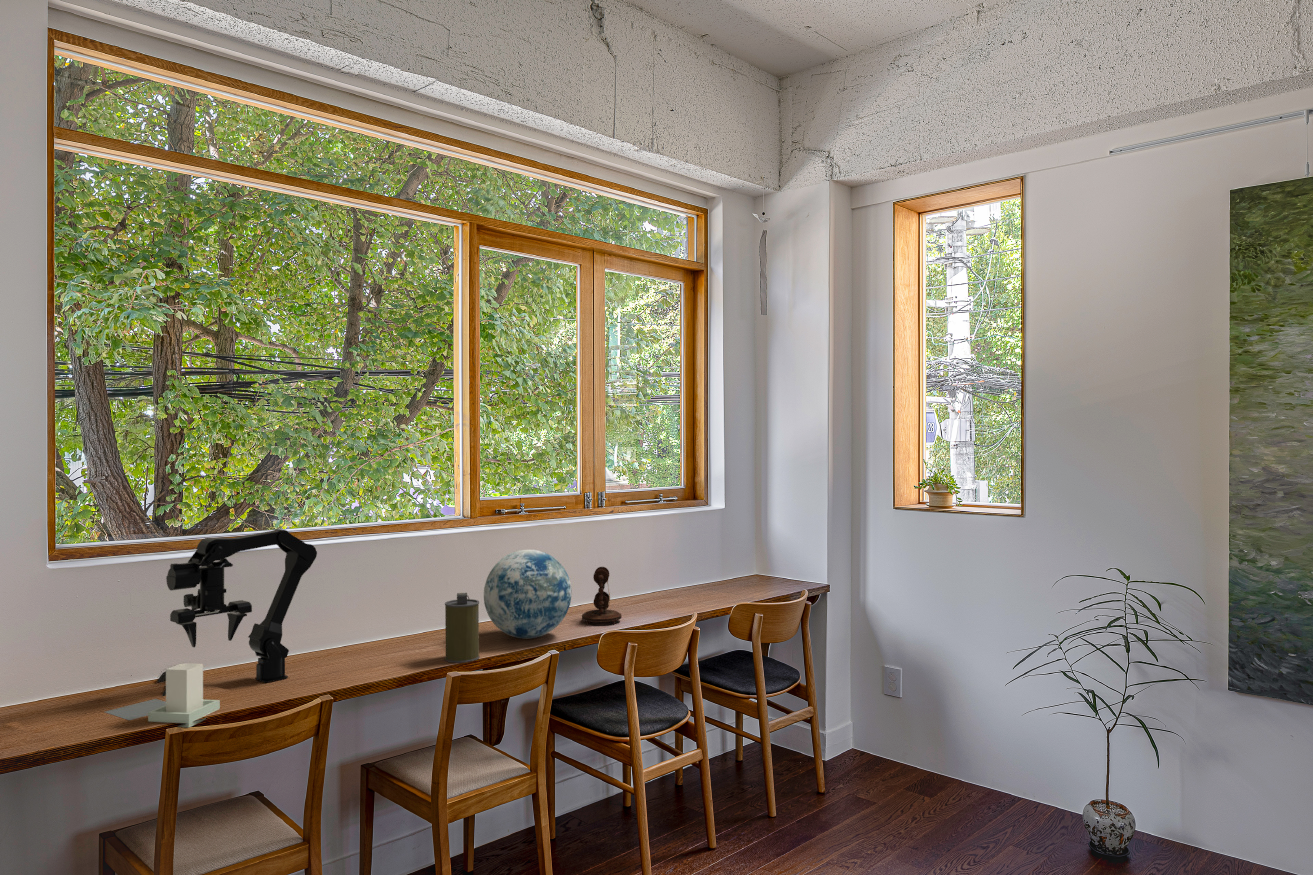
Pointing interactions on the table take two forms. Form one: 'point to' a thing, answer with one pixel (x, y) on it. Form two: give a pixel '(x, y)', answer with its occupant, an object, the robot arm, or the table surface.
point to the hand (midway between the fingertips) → (212, 643)
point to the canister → (462, 629)
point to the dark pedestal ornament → (601, 601)
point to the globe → (527, 594)
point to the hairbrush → (162, 680)
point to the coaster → (137, 709)
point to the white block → (184, 688)
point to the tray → (184, 714)
